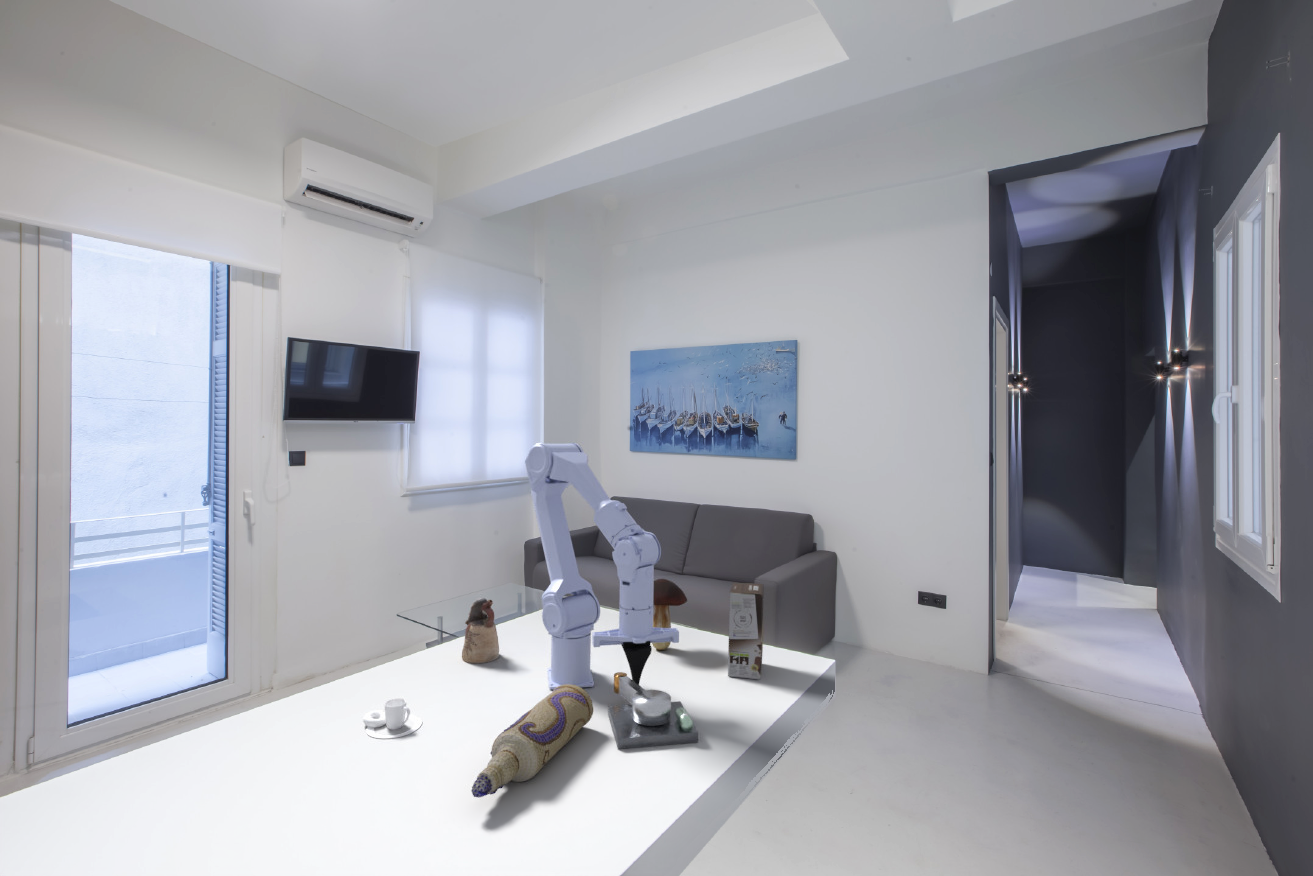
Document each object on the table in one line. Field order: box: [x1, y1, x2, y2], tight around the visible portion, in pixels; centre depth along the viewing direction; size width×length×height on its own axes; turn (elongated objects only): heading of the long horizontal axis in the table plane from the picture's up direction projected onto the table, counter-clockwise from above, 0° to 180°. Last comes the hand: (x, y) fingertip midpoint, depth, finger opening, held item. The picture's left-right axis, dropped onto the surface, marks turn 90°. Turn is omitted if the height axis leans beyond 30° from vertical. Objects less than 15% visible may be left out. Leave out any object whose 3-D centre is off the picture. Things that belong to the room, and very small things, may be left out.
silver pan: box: [613, 671, 672, 726], centre depth 101 cm, size 15×6×3 cm, turn 29°
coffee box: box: [727, 582, 764, 680], centre depth 122 cm, size 9×6×16 cm
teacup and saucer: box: [362, 698, 423, 740], centre depth 97 cm, size 9×8×4 cm
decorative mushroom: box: [651, 578, 688, 651], centre depth 133 cm, size 11×11×15 cm
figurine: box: [461, 597, 500, 664], centre depth 127 cm, size 7×7×12 cm
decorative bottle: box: [470, 684, 594, 798], centre depth 86 cm, size 26×8×7 cm, turn 160°
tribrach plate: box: [607, 700, 699, 750], centre depth 97 cm, size 11×12×4 cm
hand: (635, 686), depth 106 cm, fingers closed
